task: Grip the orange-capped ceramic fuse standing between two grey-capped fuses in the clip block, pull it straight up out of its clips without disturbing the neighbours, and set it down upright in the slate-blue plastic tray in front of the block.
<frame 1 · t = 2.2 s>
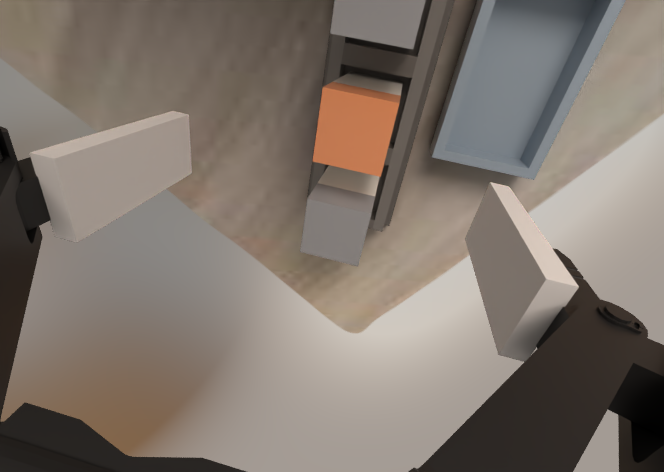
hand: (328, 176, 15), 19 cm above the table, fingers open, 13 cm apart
fuse 1: (354, 179, 34), point 1 cm above the table, touching clip block
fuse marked: (370, 104, 30), point 1 cm above the table, touching clip block
clip block: (371, 102, 31), on the table
fuse 2: (391, 7, 26), point 1 cm above the table, touching clip block
tray: (507, 78, 28), on the table
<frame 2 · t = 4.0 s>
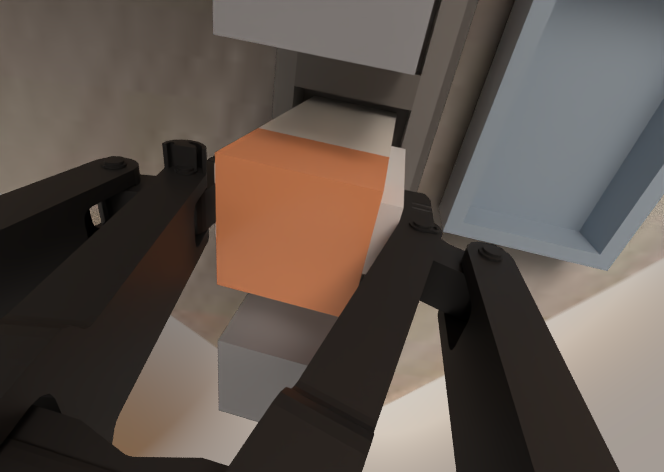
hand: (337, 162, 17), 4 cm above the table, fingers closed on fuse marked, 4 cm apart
fuse 1: (327, 250, 23), point 1 cm above the table, touching clip block
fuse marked: (347, 145, 19), point 1 cm above the table, touching clip block, gripper
clip block: (349, 141, 20), on the table
tray: (566, 108, 17), on the table
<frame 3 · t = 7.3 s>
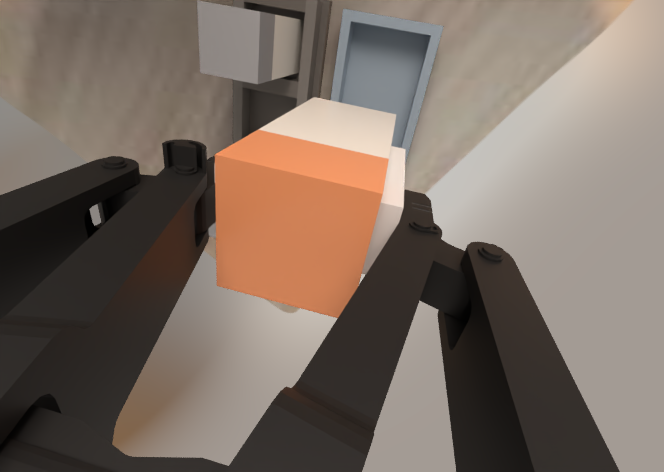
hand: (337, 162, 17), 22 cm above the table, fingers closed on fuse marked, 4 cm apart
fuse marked: (347, 146, 19), point 19 cm above the table, touching gripper
clip block: (277, 116, 38), on the table
fuse 2: (279, 43, 33), point 1 cm above the table, touching clip block
tray: (377, 96, 35), on the table
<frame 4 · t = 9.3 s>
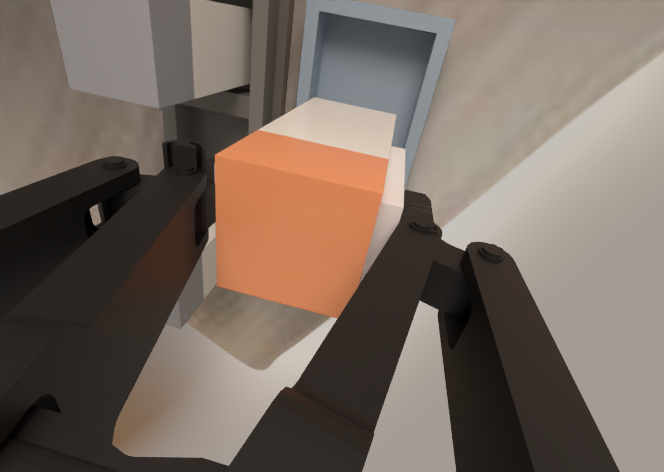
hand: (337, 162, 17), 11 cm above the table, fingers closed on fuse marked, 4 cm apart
fuse 1: (224, 219, 31), point 1 cm above the table, touching clip block
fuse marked: (347, 147, 19), point 7 cm above the table, touching gripper
clip block: (229, 139, 28), on the table
fuse 2: (223, 41, 24), point 1 cm above the table, touching clip block
tray: (362, 116, 26), on the table
when the fingers open (5 cm above the table, at t = 10.8 s): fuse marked stays where it is, resting on tray.
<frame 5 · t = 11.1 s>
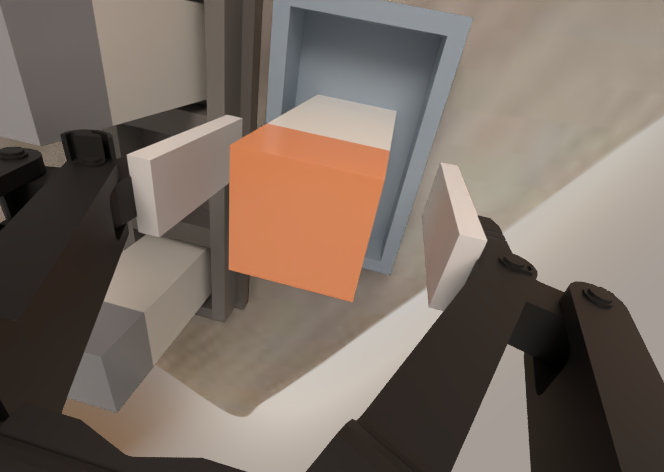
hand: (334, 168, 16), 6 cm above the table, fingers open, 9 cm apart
fuse 1: (189, 256, 26), point 1 cm above the table, touching clip block
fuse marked: (349, 142, 20), point 1 cm above the table, touching tray
clip block: (192, 163, 23), on the table
fuse 2: (175, 46, 19), point 1 cm above the table, touching clip block
tray: (351, 139, 21), on the table
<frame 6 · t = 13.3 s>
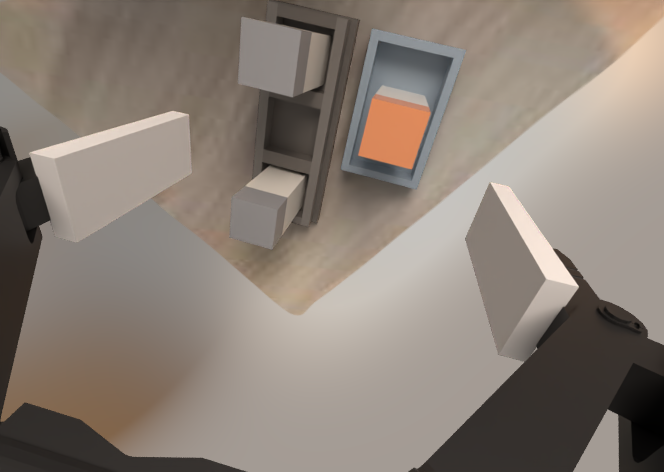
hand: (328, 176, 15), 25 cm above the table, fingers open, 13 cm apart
fuse 1: (287, 185, 42), point 1 cm above the table, touching clip block
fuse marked: (396, 112, 36), point 1 cm above the table, touching tray
clip block: (298, 125, 39), on the table
fuse 2: (306, 56, 35), point 1 cm above the table, touching clip block
tray: (397, 111, 37), on the table
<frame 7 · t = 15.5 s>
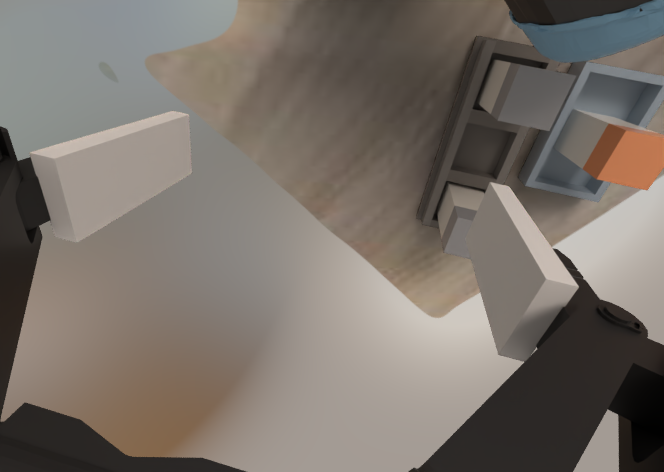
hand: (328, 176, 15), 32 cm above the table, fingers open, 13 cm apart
fuse 1: (458, 199, 46), point 1 cm above the table, touching clip block
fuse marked: (582, 133, 39), point 1 cm above the table, touching tray
clip block: (477, 145, 43), on the table
fuse 2: (504, 85, 38), point 1 cm above the table, touching clip block
tray: (580, 131, 40), on the table
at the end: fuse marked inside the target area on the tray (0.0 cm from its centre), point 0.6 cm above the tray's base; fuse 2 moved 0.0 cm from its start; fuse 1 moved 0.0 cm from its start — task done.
